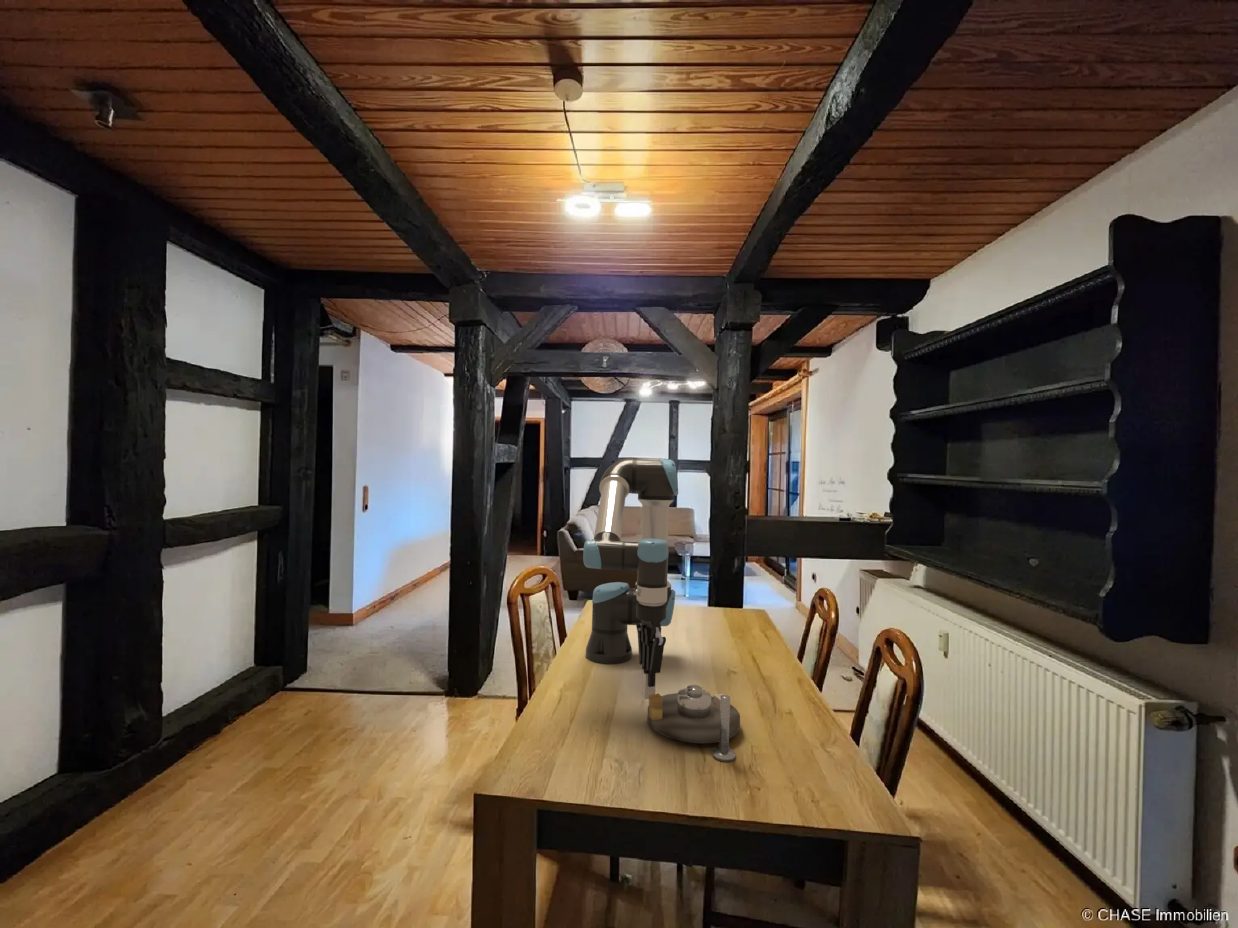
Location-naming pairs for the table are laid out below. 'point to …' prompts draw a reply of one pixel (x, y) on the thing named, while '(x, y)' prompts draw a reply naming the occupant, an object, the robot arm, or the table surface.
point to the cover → (694, 702)
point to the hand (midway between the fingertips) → (648, 697)
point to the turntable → (687, 721)
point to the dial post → (723, 729)
